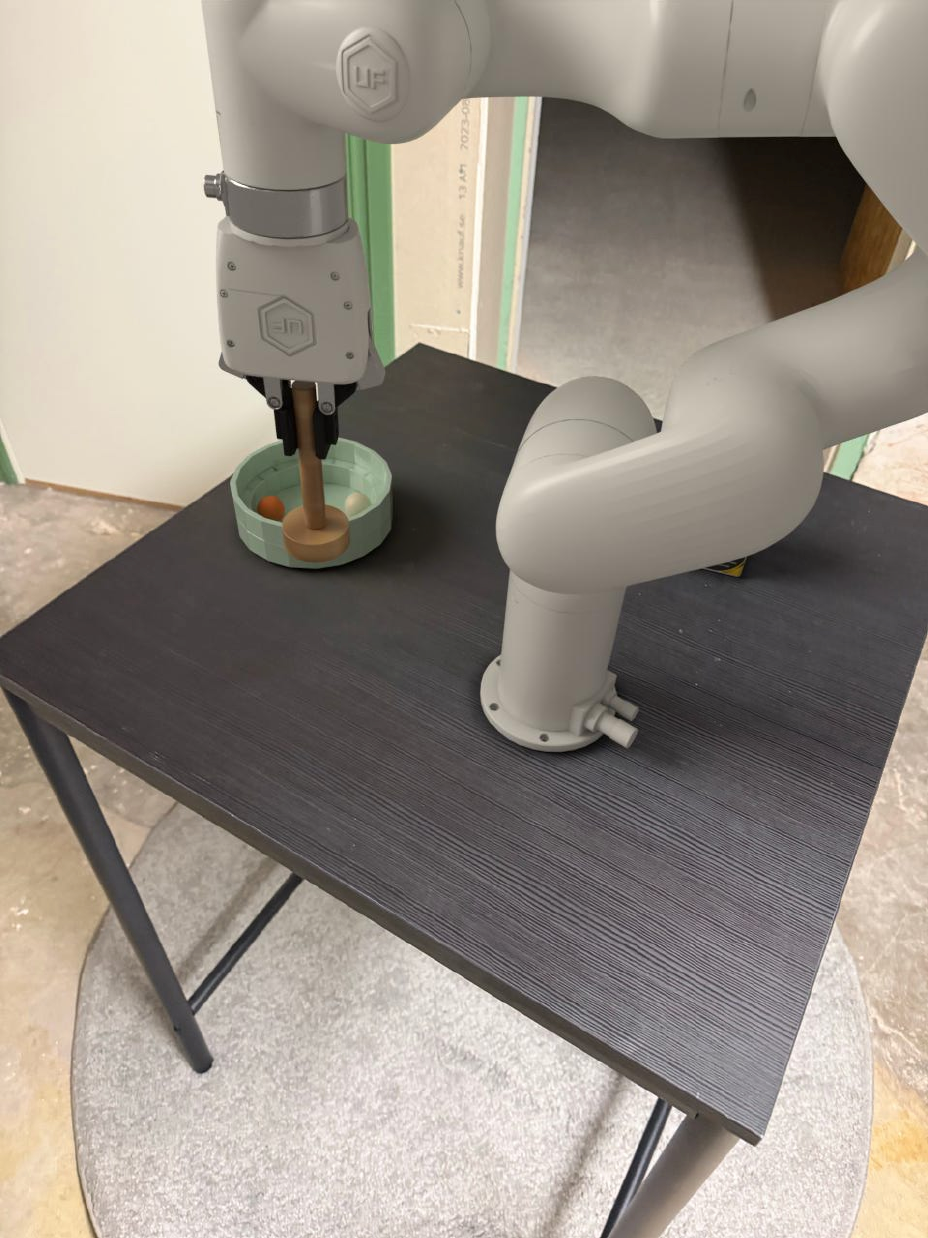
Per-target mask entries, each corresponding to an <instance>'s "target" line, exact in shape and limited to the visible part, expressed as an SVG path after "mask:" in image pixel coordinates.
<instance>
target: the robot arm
mask: <svg viewBox="0 0 928 1238" xmlns="http://www.w3.org/2000/svg"><path fill="white" fill-rule="evenodd" d="M201 11H202V19H203V26H204V33H205V41H206V49H207V57H208V65H209V71H210V80H211V86H212V95H213V103H214V110H215V116H216V124H217V131H218V139H219V146H220V153H221V161H222V169H223V170H222V171H221V172H220V173H216V175H213V174H205V176H204V178H203V192H204V195H205V198H208V199H216V200H217V201H218V202H222V204H223V207H224V210H225V216H224V217H223V219H221V220H220V221H219V222H218V223H217V229H216V239H215V240H216V241H215V280H216V281H215V282H216V283H215V284H216V286H215V287H216V305H217V306H216V307H217V322H218V334H219V340H220V341H219V342H220V348H221V352H220V356H219V360H218V367H219V369H220V370H221V371H222V372H223V371H224V372H226V373H228V374H229V375H232V376H234V377H236V378H239V379H241V380H246V382H247V383H248V384H249V385H250V386H251V387H252V388H254V390H255V391H256V392H258V393H259V394H260V396H262V397H263V398H264V399H265V403H266V405H267V407H268V408H269V409H271V410H273V418H274V427H275V436H276V439H277V440H279V441H281V440H283V448H284V455H285V456H292V455H295V452H296V450H297V439H296V428H295V418H294V407H293V397H292V387H291V385H292V381H293V382H294V381H305V382H315V383H316V388H317V403H316V404H317V407H316V409H315V411H314V413H313V430H314V442H315V455H316V457H318V459H322V460H325V459H326V457H327V454H328V451H329V449H330V446H331V445H336V444H337V442H338V438H340V428H339V427H340V426H339V425H340V424H339V408H338V407H340V405H342V404H343V403H344V402H345V401H346V400H348V399H349V398H350V397H352V396H353V395H354V394H355V392H359V391H360V392H361V391H366V390H371V389H373V388H376V387H377V388H378V387H380V386H382V385H383V383H384V380H385V377H386V369H385V367H384V364H383V362H382V359H381V357H380V354H379V352H378V351H377V348H376V345H375V343H374V320H373V309H372V298H371V291H370V290H371V289H370V282H369V273H368V267H367V262H366V255H365V250H364V245H363V242H362V236H361V231H360V228H359V225H358V222H357V221H356V220H355V219H354V218H350V217H349V203H348V201H349V200H348V176H347V155H346V153H347V152H346V135H350V136H352V137H356V138H358V139H362V140H365V141H368V142H373V143H378V144H383V145H400V144H406V143H410V142H413V141H415V140H418V139H420V138H422V137H424V135H426V134H428V133H429V132H430V131H432V130H433V129H435V127H436V126H438V124H439V123H440V122H441V121H442V120H443V119H444V118H445V117H446V116H447V115H448V114H449V113H450V112H451V111H452V110H453V109H454V108H455V107H456V106H457V105H459V103H460V102H461V101H462V100H467V99H482V98H484V99H485V98H522V97H525V98H526V97H527V98H528V97H529V98H530V97H531V98H533V97H535V98H554V99H565V100H570V101H576V102H581V103H584V104H588V105H592V106H594V107H597V108H599V109H601V110H603V111H605V112H606V113H609V114H610V115H611V116H613V117H614V118H616V119H617V120H618V121H620V122H621V123H622V124H623V125H625V126H626V127H629V128H630V129H632V130H634V131H637V132H638V133H642V134H644V135H646V136H650V137H654V138H657V139H699V138H700V139H707V138H710V139H711V138H712V139H713V138H716V139H717V138H767V137H768V138H769V137H770V138H771V137H773V138H774V137H775V138H776V137H777V138H781V137H783V138H784V137H799V138H803V137H804V138H808V137H810V138H811V137H813V138H815V137H816V138H817V137H819V138H820V137H821V138H822V137H823V138H824V137H829V138H830V137H833V138H834V137H836V139H837V141H838V143H839V145H840V147H841V149H842V151H843V152H844V154H845V155H846V157H847V158H848V159H849V161H850V162H851V164H852V166H853V167H854V168H855V170H856V171H857V173H858V174H859V175H860V176H861V178H862V179H863V180H864V182H865V183H866V184H867V186H868V187H869V188H870V189H871V191H872V192H873V193H874V195H875V196H876V197H877V198H878V200H879V201H880V202H881V204H882V205H883V206H884V208H885V209H886V210H887V211H888V213H889V214H890V215H891V216H892V217H893V219H894V220H895V221H896V222H897V224H898V225H899V226H900V228H902V230H903V231H904V232H905V233H906V234H907V235H908V236H909V237H910V239H911V240H912V241H913V242H914V243H915V244H916V246H918V247H917V249H916V250H915V251H914V252H913V253H912V254H910V255H909V256H908V257H907V258H906V259H905V260H904V261H902V262H900V264H898V265H897V266H896V267H895V268H893V269H892V270H890V271H889V272H887V273H885V274H884V275H882V276H880V277H878V278H877V279H875V280H873V281H870V282H869V283H866V284H865V285H862V286H861V287H858V288H856V289H853V290H851V291H849V292H846V293H844V294H841V295H840V296H838V297H835V298H833V299H831V300H828V301H824V302H822V303H820V304H819V303H818V304H817V305H814V306H811V307H809V308H806V309H803V310H800V311H798V312H794V313H793V314H789V315H786V316H784V317H782V318H778V319H775V320H773V321H770V322H767V323H765V324H762V325H759V326H757V327H754V328H751V329H748V330H745V331H742V332H740V333H737V334H733V335H731V336H728V337H725V338H722V339H720V340H717V341H715V342H713V343H710V344H708V345H705V346H704V347H702V348H700V349H699V350H697V351H695V352H694V353H692V354H691V355H690V356H689V357H688V358H687V359H685V360H684V361H683V363H682V364H681V365H680V366H679V368H678V369H677V371H676V373H675V374H674V376H673V379H672V381H671V383H670V385H669V388H668V389H669V390H668V392H667V397H666V402H665V407H664V413H663V418H662V423H661V429H660V431H659V432H658V431H657V427H656V422H655V420H654V416H653V414H652V413H651V410H650V409H649V407H648V405H647V404H646V402H645V400H644V399H643V398H642V397H641V396H640V394H638V393H637V392H636V391H635V390H634V389H633V388H631V387H630V386H628V385H627V384H625V383H623V382H621V381H619V380H616V379H614V378H610V377H605V376H599V375H590V376H589V375H588V376H582V377H578V378H574V379H572V380H569V381H566V382H565V383H563V384H561V385H559V386H558V387H556V388H555V389H553V390H552V391H551V392H550V393H549V394H548V395H547V396H546V397H545V398H544V399H543V401H542V402H540V404H539V405H538V407H537V408H536V409H535V411H534V413H532V416H531V417H530V419H529V422H528V424H527V426H526V429H525V430H524V434H523V436H522V439H521V442H520V444H519V447H518V449H517V452H516V454H515V458H514V462H513V464H512V467H511V470H510V472H509V475H508V478H507V480H506V483H505V486H504V488H503V491H502V495H501V497H500V501H499V504H498V508H497V513H496V520H495V538H496V543H497V548H498V551H499V553H500V555H501V558H502V559H503V561H504V563H505V564H506V566H507V567H508V568H509V575H508V585H507V593H506V605H505V612H504V624H503V634H502V643H501V651H500V652H501V653H500V654H499V655H498V656H496V657H495V658H494V659H493V660H492V661H491V662H490V664H488V666H487V668H486V669H485V671H484V673H483V675H482V679H481V681H480V690H479V691H480V692H479V695H480V703H481V708H482V711H483V713H484V715H485V716H486V718H487V720H488V721H489V723H490V724H491V725H492V726H493V728H494V729H495V730H496V731H497V732H499V733H500V734H501V735H502V736H503V737H505V738H506V739H507V740H509V741H511V742H514V743H516V744H517V745H519V746H521V747H522V746H523V747H524V748H528V749H530V750H535V751H540V752H545V753H546V752H548V753H549V752H550V753H562V752H568V751H569V752H571V751H575V750H578V749H581V748H585V747H586V746H589V745H590V744H593V743H594V742H596V741H597V740H599V738H601V737H602V736H603V735H606V736H607V737H608V738H609V739H610V740H612V741H613V742H615V743H617V744H619V745H620V746H622V747H623V748H625V749H629V748H630V747H631V745H632V744H633V743H634V741H635V740H636V738H637V735H638V733H639V729H638V728H637V727H635V726H633V725H632V724H630V723H628V722H626V721H625V720H623V719H621V718H618V717H616V716H615V715H616V713H617V714H618V715H619V716H622V717H623V718H625V719H627V720H628V721H630V722H633V720H634V719H636V716H637V715H638V713H639V710H640V709H639V708H640V707H638V706H636V705H634V704H633V703H631V702H630V701H627V700H624V699H622V698H621V697H619V696H618V692H617V690H616V686H615V684H616V680H617V677H618V675H617V674H616V673H614V672H612V671H610V670H608V668H609V665H610V664H609V663H610V659H611V655H612V651H613V648H614V643H615V639H616V634H617V629H618V625H619V621H620V617H621V612H622V607H623V603H624V599H625V594H626V591H627V588H628V587H631V586H634V585H638V584H642V583H643V584H644V583H646V582H651V581H654V580H660V579H663V578H668V577H671V576H676V575H681V574H685V573H689V572H692V571H697V570H700V569H702V568H705V567H709V566H714V565H718V564H722V563H726V562H729V561H733V560H736V559H740V558H744V557H746V556H747V557H749V556H752V555H754V554H757V553H760V552H761V551H763V550H765V549H767V548H770V547H771V546H773V545H774V544H776V543H778V542H779V541H781V540H782V539H784V538H785V537H786V536H788V535H789V534H791V533H792V532H793V531H795V529H796V528H797V527H798V526H799V525H800V524H802V523H803V521H804V520H805V519H806V518H807V516H808V515H809V513H810V512H811V510H812V509H813V507H814V505H815V504H816V501H817V499H818V497H819V494H820V491H821V488H822V483H823V479H824V471H825V470H824V468H825V467H824V466H825V461H824V460H825V457H824V451H825V450H828V449H830V448H832V447H835V446H837V445H840V444H843V443H846V442H849V441H853V440H855V439H858V438H861V437H864V436H867V435H870V434H872V433H875V432H878V431H881V430H884V429H887V428H890V427H892V426H895V425H898V424H899V425H900V424H901V423H904V422H908V421H910V420H913V419H915V418H919V417H920V416H923V415H925V414H927V413H928V0H201Z"/></svg>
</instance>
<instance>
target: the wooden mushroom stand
mask: <svg viewBox="0 0 928 1238" xmlns="http://www.w3.org/2000/svg"><path fill="white" fill-rule="evenodd" d="M291 388H292V397H293V407H294V418H295V428H296V439H297V449H298V459H299V470H300V480H301V490H302V501H303V506H301V507H298V508H296V509H294V510H292V511H291V512H289V513H288V514H287V515H286V516H285V518H284V520H283V522H282V531H283V540H284V546H285V549H286V551H287V552H288V553H289V554H290V555H291V556H292V557H294V558H296V559H298V560H301V561H304V562H311V563H320V562H326V561H330V560H333V559H335V558H337V557H339V556H341V555H342V554H343V553H344V552H345V551H346V550H347V548H348V546H349V544H350V532H349V520H348V518H347V516H346V514H345V513H344V512H343V511H341V510H340V509H338V508H336V507H334V506H331V505H326V504H325V498H324V485H323V471H322V459H318V457H316V455H315V442H314V430H313V413H314V411H315V409H316V407H317V404H316V403H317V401H318V390H317V383H315V382H305V381H294V380H293V381H292V382H291Z"/></svg>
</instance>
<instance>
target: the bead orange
mask: <svg viewBox="0 0 928 1238" xmlns="http://www.w3.org/2000/svg"><path fill="white" fill-rule="evenodd" d="M257 512H258V514H259V515H261V516H262V517H264V518H267V519H270V520H274V521H280V520H281V519H282V517H283V516H284V513H285V507H284V504H283V502H282V501H281V500H280V499H279V498H277V497H274V496H267V497H264V498H263V499H262V500H261V501H260V502H259V504H258V506H257Z"/></svg>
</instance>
